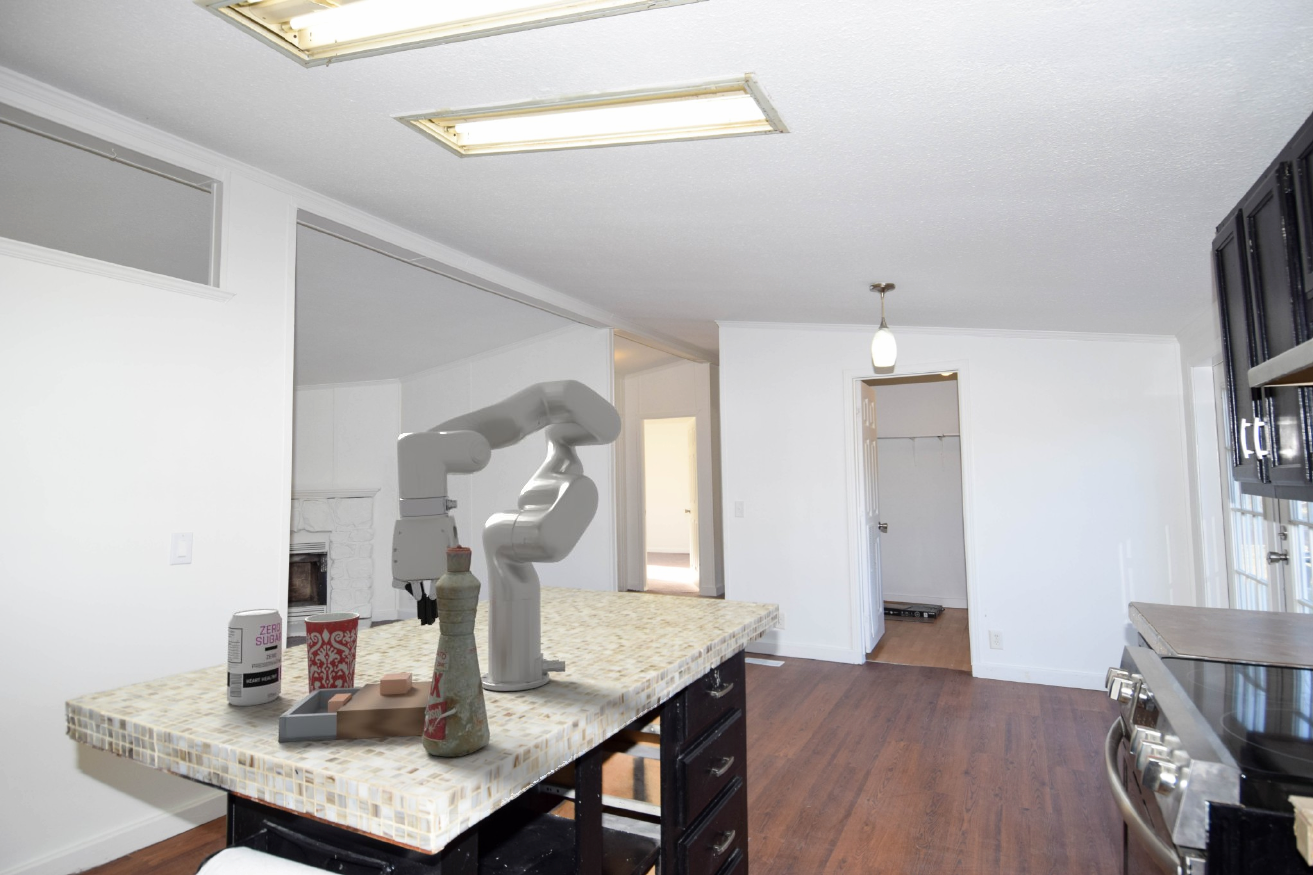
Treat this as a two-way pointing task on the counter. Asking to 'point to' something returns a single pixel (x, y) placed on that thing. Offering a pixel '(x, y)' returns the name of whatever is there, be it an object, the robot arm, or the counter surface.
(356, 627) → the mug
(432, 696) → the bottle
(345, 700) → the tile
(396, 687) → the tile
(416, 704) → the brown square platform
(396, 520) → the robot arm
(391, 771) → the counter surface
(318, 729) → the box
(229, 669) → the supplement can
